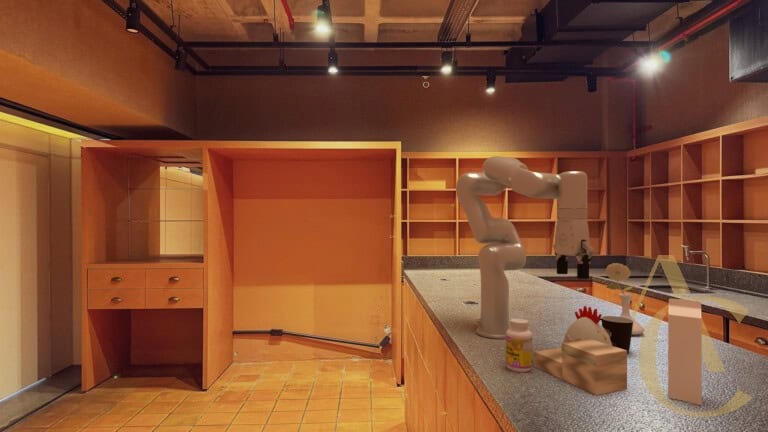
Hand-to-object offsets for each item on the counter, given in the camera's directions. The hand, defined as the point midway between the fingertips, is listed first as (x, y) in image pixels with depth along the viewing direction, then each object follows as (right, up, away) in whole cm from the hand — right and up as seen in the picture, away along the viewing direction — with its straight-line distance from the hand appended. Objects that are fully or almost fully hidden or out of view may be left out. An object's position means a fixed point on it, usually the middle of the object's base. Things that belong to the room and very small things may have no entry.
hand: (572, 276), depth 114 cm
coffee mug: (+19, -25, +12) cm, 33 cm away
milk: (+15, -24, -22) cm, 36 cm away
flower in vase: (+34, -25, +33) cm, 53 cm away
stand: (-4, -24, -11) cm, 27 cm away
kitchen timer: (+6, -25, +4) cm, 26 cm away
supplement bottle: (-17, -24, -5) cm, 30 cm away
